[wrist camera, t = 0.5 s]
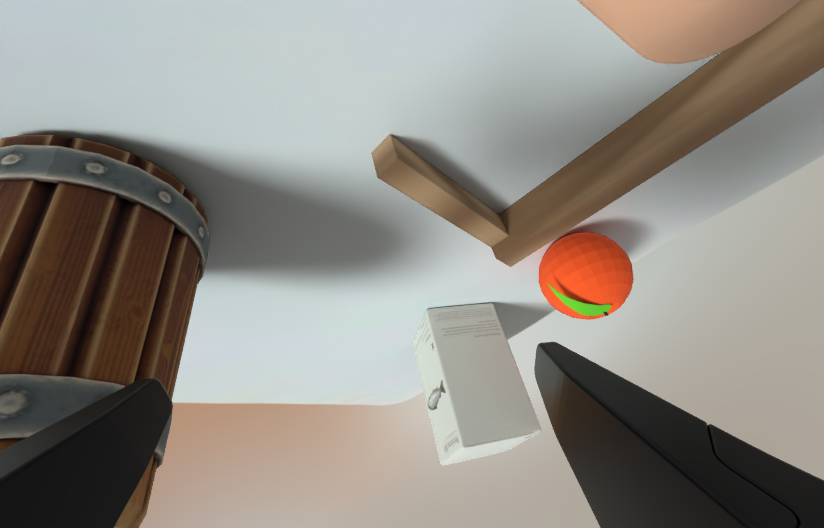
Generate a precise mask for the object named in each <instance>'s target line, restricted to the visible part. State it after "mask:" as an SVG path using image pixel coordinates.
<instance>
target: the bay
mask: <svg viewBox="0 0 824 528" xmlns="http://www.w3.org/2000/svg"><path fill="white" fill-rule="evenodd" d="M823 67H824V0H800V1H798V2H797V3H796V4H795V5H794V6H793V7H791V8H790V9H789V10H787V11H786V12H785V13H784V14H782V15H781V16H780V17H778V18H777V19H776V20H774V21H773V22H772V23H770V24H769V25H767V26H766V27H764V28H763V29H761V30H760V31H758V32H757V33H755V34H754V35H752V36H750V37H749V38H747V39H745V40H743V41H742V42H740V43H738V44H736V45H734V46H732V47H730V48H728V49H726V50H724V51H723V52H722V53H720V54H719V55H718V56H716V57H715V58H713V59H712V60H711V61H709V62H708V63H707V64H705V65H704V66H702V67H701V68H700V69H698V70H697V71H696V72H694V73H693V74H691V75H690V76H689V77H687V78H686V79H685V80H683V81H682V82H680V83H679V84H678V85H676V86H675V87H674V88H672V89H671V90H670V91H668V92H667V93H665V94H664V95H663V96H661V97H660V98H659V99H657V100H656V101H654V102H653V103H652V104H650V105H649V106H648V107H646V108H645V109H643V110H642V111H641V112H639V113H638V114H637V115H635V116H634V117H632V118H631V119H630V120H628V121H627V122H626V123H624V124H623V125H621V126H620V127H619V128H617V129H616V130H615V131H613V132H612V133H610V134H609V135H608V136H606V137H605V138H604V139H602V140H601V141H599V142H598V143H597V144H595V145H594V146H593V147H591V148H590V149H588V150H587V151H586V152H584V153H583V154H582V155H580V156H579V157H577V158H576V159H575V160H573V161H572V162H571V163H569V164H568V165H566V166H565V167H564V168H562V169H561V170H560V171H558V172H557V173H555V174H554V175H553V176H551V177H550V178H549V179H547V180H546V181H545V182H543V183H542V184H540V185H539V186H538V187H536V188H535V189H534V190H532V191H531V192H529V193H528V194H527V195H525V196H524V197H523V198H521V199H520V200H518V201H517V202H516V203H514V204H513V205H512V206H510V207H509V208H507V209H506V210H505V211H503V212H502V213H501V214H497V213H496V212H494V211H493V210H492V209H490V208H489V207H488V206H486V205H485V204H484V203H482V202H481V201H480V200H478V199H477V198H476V197H474V196H473V195H471V194H470V193H469V192H467V191H466V190H465V189H463V188H462V187H461V186H459V185H458V184H457V183H455V182H454V181H453V180H451V179H450V178H448V177H447V176H446V175H444V174H443V173H442V172H440V171H439V170H438V169H436V168H435V167H434V166H432V165H431V164H429V163H428V162H427V161H425V160H424V159H423V158H421V157H420V156H419V155H417V154H416V153H415V152H413V151H412V150H411V149H409V148H408V147H406V146H405V145H404V144H402V143H401V142H400V141H398V140H397V139H396V138H394V137H393V136H392V135H389V136H388V137H387V138H386V139H385V140H384V141H383V142H382V143H381V144H380V145H379V146H378V147H377V148H376V149H375V150H374V151H373V152H372V157H373V161H374V165H375V169H376V173H377V177H378V178H379V179H381V180H382V181H384V182H386V183H387V184H389V185H391V186H392V187H394V188H395V189H397V190H399V191H400V192H402V193H404V194H405V195H407V196H409V197H410V198H412V199H413V200H415V201H417V202H418V203H420V204H422V205H423V206H425V207H426V208H428V209H430V210H431V211H433V212H435V213H436V214H438V215H439V216H441V217H443V218H444V219H446V220H448V221H449V222H451V223H452V224H454V225H456V226H457V227H459V228H461V229H462V230H464V231H465V232H467V233H469V234H470V235H472V236H474V237H475V238H477V239H478V240H480V241H482V242H483V243H485V244H487V245H488V246H490V247H491V248H492V250H493V252H494V255H495V257H496V259H498V260H500V261H501V262H503V263H505V264H506V265H508V266H510V267H511V266H513V265H515V264H516V263H518V262H519V261H521V260H522V259H524V258H526V257H527V256H529V255H530V254H532V253H533V252H535V251H536V250H538V249H540V248H541V247H543V246H544V245H546V244H547V243H549V242H551V241H552V240H554V239H555V238H557V237H558V236H560V235H562V234H563V233H565V232H566V231H568V230H569V229H571V228H573V227H574V226H576V225H577V224H579V223H580V222H582V221H583V220H585V219H587V218H588V217H590V216H591V215H593V214H594V213H596V212H598V211H599V210H601V209H602V208H604V207H605V206H607V205H609V204H610V203H612V202H613V201H615V200H616V199H618V198H620V197H621V196H623V195H624V194H626V193H627V192H629V191H631V190H632V189H634V188H635V187H637V186H638V185H640V184H641V183H643V182H645V181H646V180H648V179H649V178H651V177H652V176H654V175H656V174H657V173H659V172H660V171H662V170H663V169H665V168H667V167H668V166H670V165H671V164H673V163H674V162H676V161H678V160H679V159H681V158H682V157H684V156H685V155H687V154H689V153H690V152H692V151H693V150H695V149H696V148H698V147H699V146H701V145H703V144H704V143H706V142H707V141H709V140H710V139H712V138H714V137H715V136H717V135H718V134H720V133H721V132H723V131H725V130H726V129H728V128H729V127H731V126H732V125H734V124H736V123H737V122H739V121H740V120H742V119H743V118H745V117H747V116H748V115H750V114H751V113H753V112H754V111H756V110H757V109H759V108H761V107H762V106H764V105H765V104H767V103H768V102H770V101H772V100H773V99H775V98H776V97H778V96H779V95H781V94H783V93H784V92H786V91H787V90H789V89H790V88H792V87H794V86H795V85H797V84H798V83H800V82H801V81H803V80H804V79H806V78H808V77H809V76H811V75H812V74H814V73H815V72H817V71H819V70H820V69H822V68H823Z"/></svg>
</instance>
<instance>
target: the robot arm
mask: <svg viewBox="0 0 824 528" xmlns="http://www.w3.org/2000/svg"><path fill="white" fill-rule="evenodd" d="M535 377H536V381H537V384H538V387H539V390H540V392H541V395H542V398H543V401H544V404H545V407H546V410H547V413H548V416H549V418H550V421H551V424H552V427H553V430H554V432H555V434H556V437H557V439H558V441H559V443H560V445H561V447H562V449H563V452H564V453H565V456H566V457H567V460H568V462H569V464H570V466H571V468H572V470H573V472H574V474H575V476H576V478H577V480H578V482H579V484H580V486H581V488H582V490H583V493H584V495H585V497H586V499H587V501H588V503H589V505H590V507H591V509H592V511H593V513H594V515H595V517H596V519H597V521H598V523H599V525H600V527H601V528H824V480H822V479H820V478H817V477H815V476H813V475H811V474H809V473H807V472H805V471H803V470H801V469H799V468H796V467H794V466H792V465H790V464H788V463H786V462H784V461H782V460H780V459H778V458H775V457H774V456H771V455H769V454H767V453H765V452H764V451H762V450H760V449H758V448H756V447H754V446H752V445H750V444H748V443H746V442H744V441H742V440H740V439H738V438H736V437H734V436H732V435H730V434H729V433H727V432H725V431H723V430H721V429H719V428H717V427H715V426H713V425H711V424H709V425H708V426H707V423H706V422H704V421H703V420H700V419H699V418H697V417H695V416H693V415H691V414H689V413H688V412H686V411H684V410H682V409H680V408H678V407H676V406H675V405H672V404H671V403H669V402H667V401H665V400H663V399H661V398H660V397H658V396H656V395H654V394H652V393H650V392H648V391H646V390H645V389H643V388H641V387H639V386H637V385H635V384H633V383H631V382H630V381H628V380H626V379H624V378H622V377H620V376H618V375H616V374H614V373H613V372H611V371H609V370H607V369H605V368H603V367H601V366H599V365H598V364H596V363H594V362H592V361H590V360H588V359H586V358H584V357H583V356H581V355H579V354H577V353H575V352H573V351H571V350H569V349H568V348H566V347H564V346H562V345H560V344H558V343H556V342H546V343H540V344H538V346H537V351H536V359H535ZM172 408H173V405H172V401H171V399H170V397H169V395H168V393H167V392H166V390H165V388H164V386H163V385H162V383H161V381H160V380H158V379H156V378H150V379H140V380H137V381H135V382H133V383H131V384H129V385H127V386H126V387H124V388H122V389H120V390H118V391H116V392H114V393H112V394H110V395H108V396H106V397H104V398H102V399H100V400H98V401H97V402H95V403H93V404H91V405H89V406H87V407H85V408H83V409H81V410H79V411H77V412H75V413H73V414H71V415H69V416H68V417H66V418H64V419H62V420H60V421H58V422H56V423H54V424H52V425H50V426H48V427H46V428H44V429H42V430H40V431H39V432H37V433H35V434H33V435H31V436H29V437H27V438H25V439H23V440H21V441H19V442H17V443H15V444H13V445H11V446H10V447H8V448H6V449H4V450H2V451H0V528H114V527H115V525H116V523H117V522H118V520H119V518H120V516H121V515H122V513H123V511H124V509H125V507H126V506H127V504H128V502H129V500H130V498H131V497H132V495H133V493H134V491H135V490H136V488H137V486H138V484H139V482H140V481H141V479H142V477H143V475H144V473H145V471H146V469H147V467H148V465H149V463H150V461H151V459H152V456H153V454H154V452H155V450H156V447H157V445H158V443H159V441H160V438H161V436H162V434H163V432H164V429H165V427H166V425H167V422H168V420H169V418H170V416H171V413H172Z"/></svg>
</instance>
